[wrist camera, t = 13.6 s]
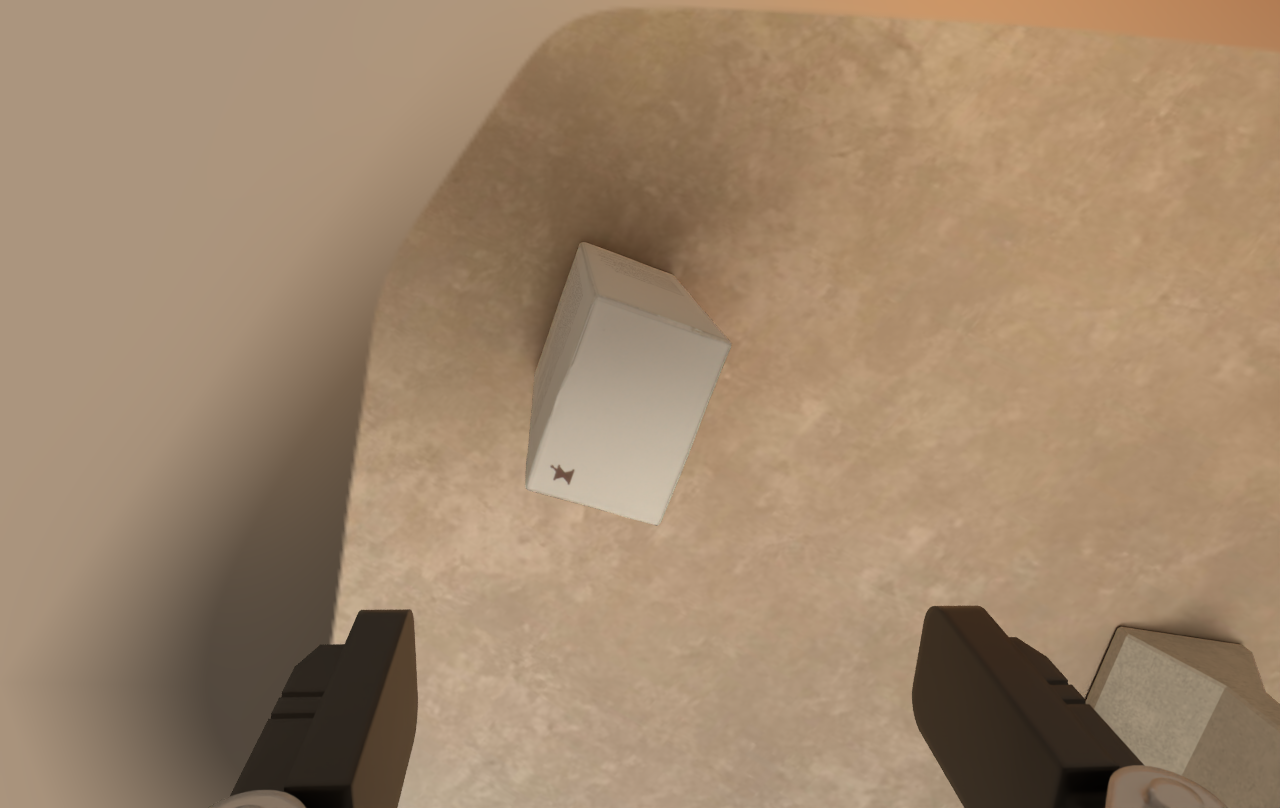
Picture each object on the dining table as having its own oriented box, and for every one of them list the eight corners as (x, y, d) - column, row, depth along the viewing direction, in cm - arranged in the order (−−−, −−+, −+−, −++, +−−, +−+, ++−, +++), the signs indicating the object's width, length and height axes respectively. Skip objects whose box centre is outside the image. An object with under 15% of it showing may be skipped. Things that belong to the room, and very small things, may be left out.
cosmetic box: (628, 405, 35) (659, 535, 24) (532, 374, 35) (517, 493, 23) (680, 271, 34) (738, 343, 22) (580, 234, 33) (589, 290, 22)
